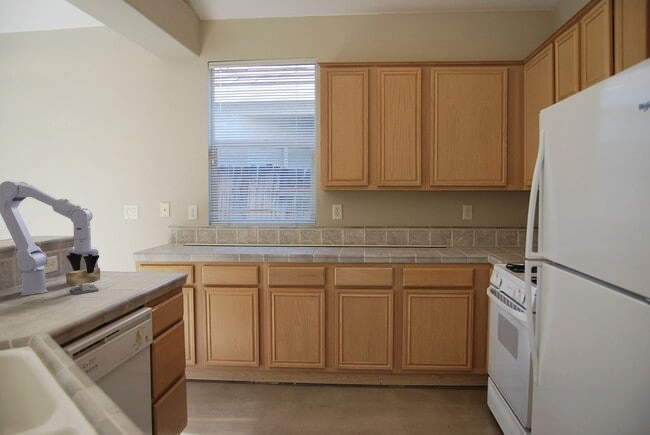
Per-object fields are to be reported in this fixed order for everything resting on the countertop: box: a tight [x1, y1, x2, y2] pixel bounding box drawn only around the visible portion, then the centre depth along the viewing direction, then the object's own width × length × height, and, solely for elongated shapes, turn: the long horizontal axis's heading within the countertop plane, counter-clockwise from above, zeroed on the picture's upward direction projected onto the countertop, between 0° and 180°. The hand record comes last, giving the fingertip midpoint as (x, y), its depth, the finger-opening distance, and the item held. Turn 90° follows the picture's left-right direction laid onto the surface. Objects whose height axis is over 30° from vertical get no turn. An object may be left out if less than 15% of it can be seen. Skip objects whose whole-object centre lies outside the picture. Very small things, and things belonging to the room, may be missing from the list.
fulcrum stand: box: [70, 282, 99, 295], centre depth 150 cm, size 10×8×3 cm
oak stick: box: [65, 267, 101, 287], centre depth 149 cm, size 12×3×5 cm, turn 162°
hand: (83, 272), depth 149 cm, fingers open, 7 cm apart
